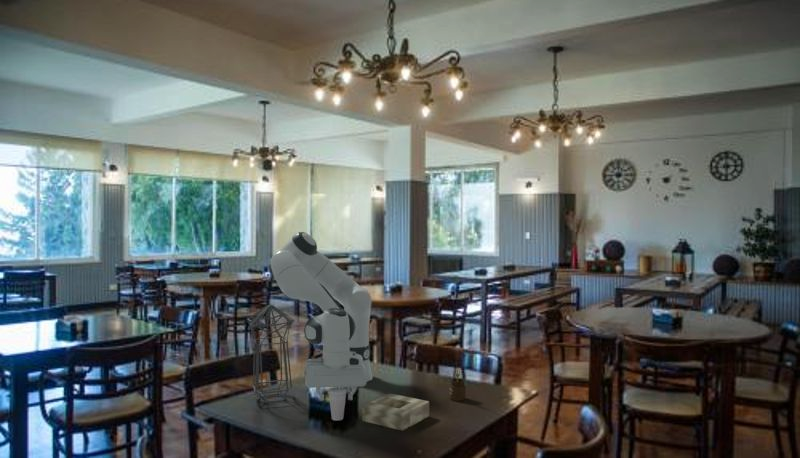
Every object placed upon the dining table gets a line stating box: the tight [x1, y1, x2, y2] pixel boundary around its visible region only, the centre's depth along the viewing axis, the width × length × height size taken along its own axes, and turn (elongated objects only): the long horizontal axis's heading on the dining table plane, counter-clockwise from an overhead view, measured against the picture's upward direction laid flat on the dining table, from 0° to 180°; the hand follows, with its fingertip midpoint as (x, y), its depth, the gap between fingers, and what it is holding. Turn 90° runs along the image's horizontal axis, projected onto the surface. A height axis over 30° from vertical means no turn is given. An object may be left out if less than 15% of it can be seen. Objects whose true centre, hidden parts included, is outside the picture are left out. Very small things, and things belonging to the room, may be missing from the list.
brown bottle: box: [449, 368, 467, 402], centre depth 207 cm, size 6×6×12 cm
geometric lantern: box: [245, 304, 296, 404], centre depth 206 cm, size 16×16×35 cm
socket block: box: [361, 393, 430, 431], centre depth 186 cm, size 16×16×5 cm
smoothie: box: [327, 387, 348, 421], centre depth 185 cm, size 6×6×14 cm
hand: (336, 399), depth 185 cm, fingers open, 8 cm apart
